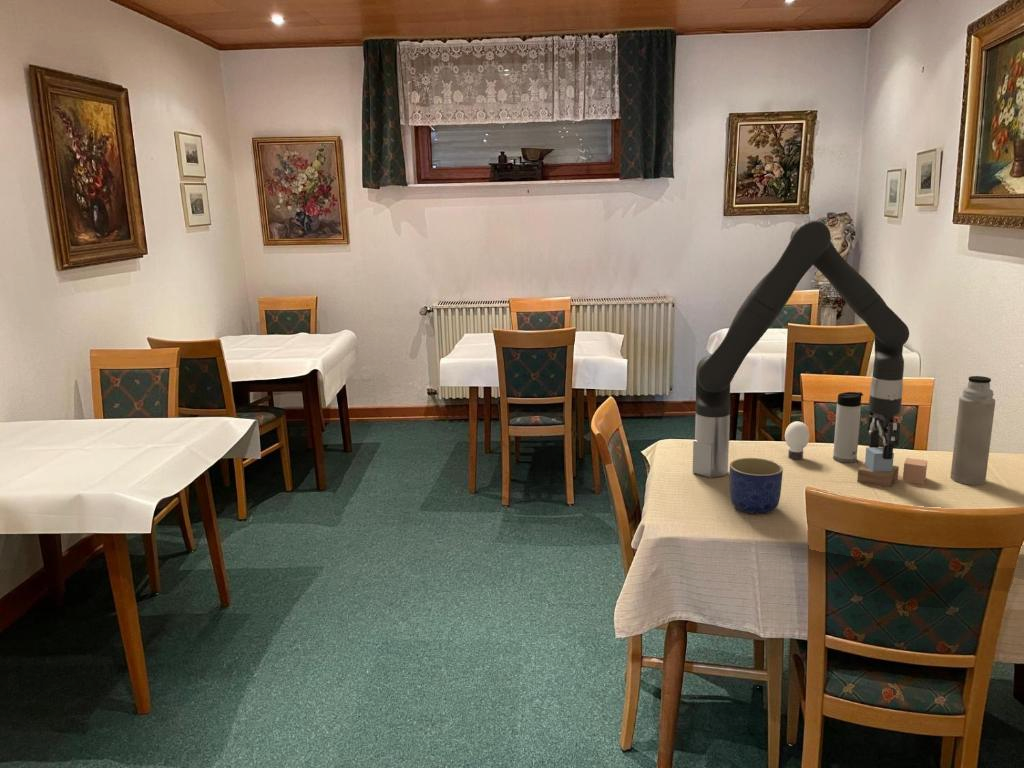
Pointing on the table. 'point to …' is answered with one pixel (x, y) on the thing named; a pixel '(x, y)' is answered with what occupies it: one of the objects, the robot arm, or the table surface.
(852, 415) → the travel mug
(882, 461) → the blue cube
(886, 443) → the robot arm
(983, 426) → the thermos bottle
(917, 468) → the terracotta cube
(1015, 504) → the table surface
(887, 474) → the walnut block
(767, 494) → the planter
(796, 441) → the light bulb
